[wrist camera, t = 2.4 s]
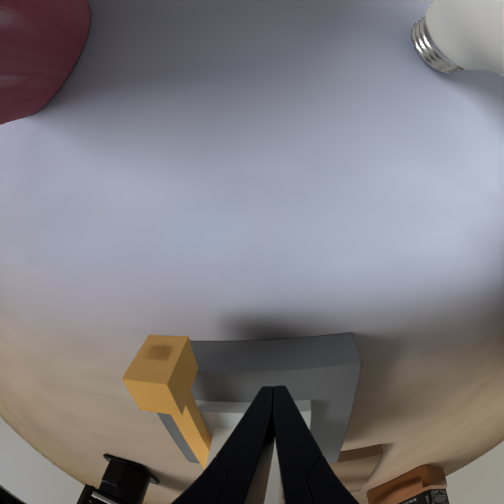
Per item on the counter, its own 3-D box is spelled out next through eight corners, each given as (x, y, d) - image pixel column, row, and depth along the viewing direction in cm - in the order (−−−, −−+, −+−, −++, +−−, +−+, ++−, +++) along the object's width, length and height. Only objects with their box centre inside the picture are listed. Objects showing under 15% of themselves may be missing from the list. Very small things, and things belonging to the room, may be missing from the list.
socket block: (333, 439, 18) (336, 462, 16) (194, 439, 19) (188, 461, 17) (351, 332, 14) (361, 362, 12) (147, 339, 15) (131, 365, 13)
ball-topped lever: (237, 469, 16) (233, 499, 14) (213, 467, 17) (207, 497, 14) (188, 336, 11) (167, 384, 9) (149, 335, 12) (122, 378, 9)
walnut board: (358, 483, 23) (359, 490, 21) (264, 491, 24) (264, 499, 23) (381, 444, 18) (383, 453, 17) (254, 457, 20) (253, 467, 19)
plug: (305, 428, 17) (307, 543, 8) (216, 429, 18) (192, 536, 9) (307, 369, 15) (317, 529, 6) (194, 371, 16) (146, 513, 6)
